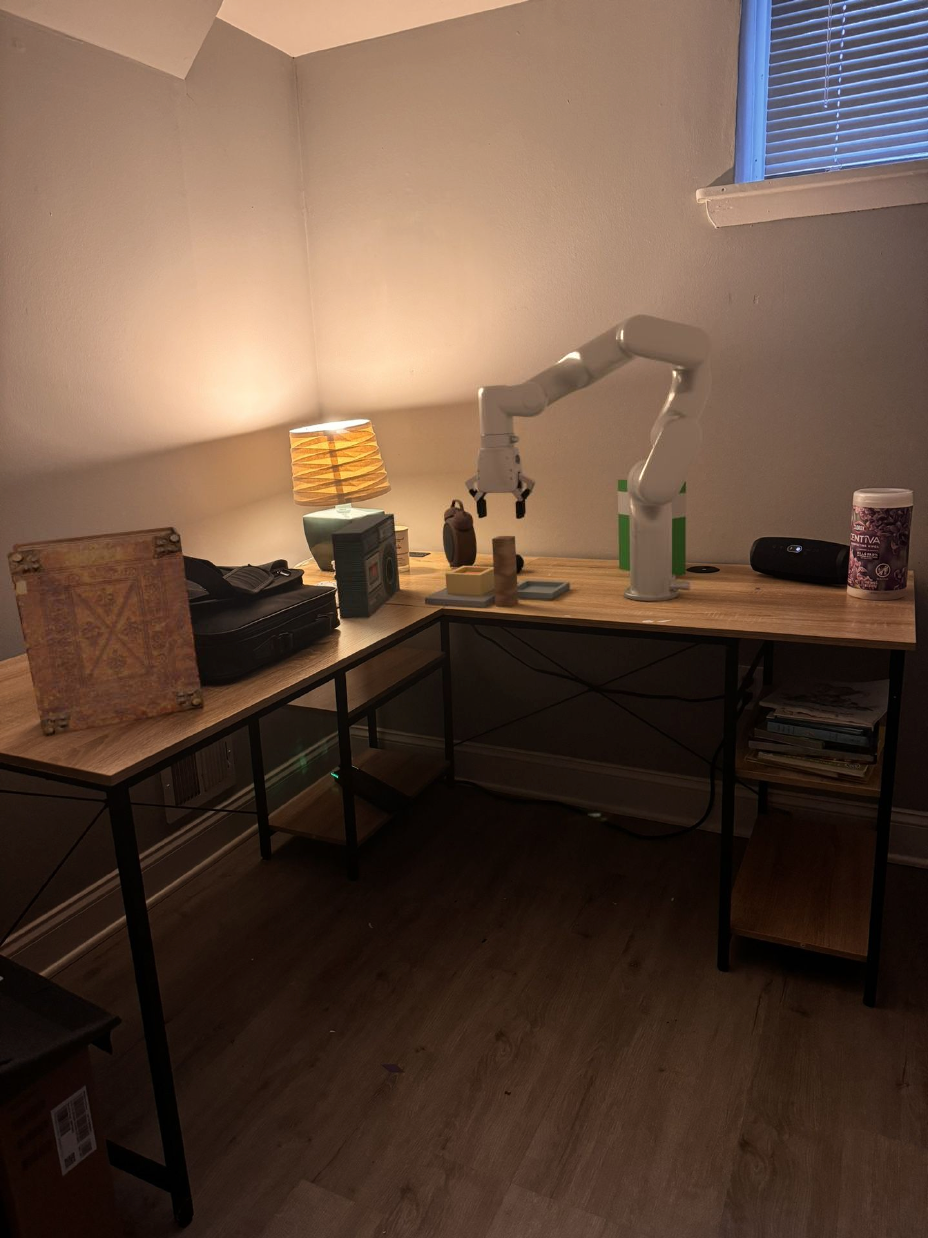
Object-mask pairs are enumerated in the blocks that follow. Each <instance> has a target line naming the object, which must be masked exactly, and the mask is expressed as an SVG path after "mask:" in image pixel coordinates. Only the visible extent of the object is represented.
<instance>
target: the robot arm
mask: <svg viewBox="0 0 928 1238" xmlns="http://www.w3.org/2000/svg"><path fill="white" fill-rule="evenodd" d="M713 345H714V343H713V340H712V337H711V335H710V334H709V333H708V332H707V330H705V329H704V328H701V327H699V326H696V325H691V324H686V323H682V322H677V321H673V320H670V319H669V320H668V319H664V318H660V317H655V316H652V315H648V314H635V315H633V316H630V317H627V318H626V319H624V320H622V321H621V322H619V323H618V324H616V325H614V326H613V327H611V328H609V329H607V330H605V331H604V332H602V333H600V334H599V335H597V336H596V337H594V338H592V339H591V340H589V341H588V342H585V343H584V344H582V345H581V346H579V347H577V348H575V349H574V350H572V351H570V353H568V354H566V356H564V357H563V358H562V359H560V360H559V361H557V362H556V363H554V364H552V365H550V366H549V367H547V368H546V369H544V370H542V371H540V372H539V373H537V374H536V375H533V376H532V377H530V378H529V379H527V380H526V381H524V382H522V383H519V384H514V385H506V384H501V385H500V384H496V385H487V386H486V385H485V386H482V387H480V388H479V390H478V393H477V394H478V396H477V397H478V398H477V400H478V413H479V430H480V431H479V433H480V449H478V455H477V460H476V475H473V476H472V477H471V478H468V480H466V481H465V482H464V485H465V486H466V489H467V490H468V493H469V495H470V496H472V498H473V500H474V501H475V504H476V514H477V518H478V519H483V518H486V517H487V516H488V509H487V508H488V507H487V500H486V495H488V494H511V493H512V494H513V496H514V498H515V499H516V501H515V504H514V505H515V518H516V519H517V520H520V519H523V518H525V515H526V512H527V509H526V500H527V499H528V497H530V495H531V494H532V492H533V489H534V487H535V485H536V480H534V479H533V478H531V477H529V476H528V475H526V474H524V471H523V463H522V458H521V453H520V450H519V447H517V446H516V447H515V445H516V443H519V442H520V436H516V435H515V434H516V433H515V432H514V431H515V430H514V429H515V428H514V427H515V426H514V417H519V418H520V417H522V418H535V417H538V416H539V415H541V414H542V413H543V412H544V411H545V410H546V408H547V407H550V406H551V405H552V404H554V403H556V402H557V401H559V400H560V399H563V398H565V397H566V396H568V395H570V394H572V393H574V392H577V391H579V390H583V389H586V388H588V387H590V386H592V385H595V384H596V383H598V382H599V381H601V380H603V379H605V378H606V377H608V376H610V375H611V374H613V373H615V372H616V371H618V370H620V369H622V368H623V367H625V366H627V365H628V364H629V363H632V362H633V361H635V360H637V359H639V358H644V359H646V360H647V359H648V360H650V361H651V360H652V361H655V362H659V363H663V364H667V366H669V368H670V371H671V375H672V379H671V380H672V381H671V386H670V389H669V392H668V394H667V397H666V400H665V402H664V403H663V406H662V408H661V410H660V411H659V414H658V416H657V419H656V420H655V422H654V423H653V426H652V429H651V431H650V434H649V435H650V437H649V438H650V439H649V440H650V445H651V446H652V449H651V451H650V452H649V456H648V457H647V458H645V459H642V460H640V461H638V462H636V463H635V464H634V465H633V466H632V468H631V469H630V471H629V473H628V477H627V480H628V481H627V490H628V500H629V514H630V571H629V572H630V573H629V575H630V578H629V579H630V584H629V585H630V586H629V587H626V588H625V589H624V590H623V596H624V598H627V599H629V600H633V601H634V600H635V601H640V602H641V601H643V602H656V601H657V602H659V601H666V600H667V601H668V600H671V599H675V598H677V596H679V591H690V590H691V581H688V580H678V579H676V576H675V575H672V510H671V501H673V500H674V499H675V498H676V496H677V495H678V494H679V492H680V490H681V488H682V486H683V484H684V482H685V481H686V480H687V478H688V477H689V474H690V472H691V469H692V467H693V465H694V463H695V461H696V458H697V456H698V454H699V452H700V451H701V448H702V447H701V446H702V441H703V432H702V431H703V430H702V428H701V425H700V423H699V421H700V419H701V416H702V414H703V411H704V409H705V406H706V405H707V402H708V399H709V397H710V395H711V394H710V393H711V389H712V383H713V382H712V369H711V365H710V361H709V360H710V358H711V357H712V353H713V349H714V346H713ZM475 483H476V486H477V489H476V487H475ZM525 484H526V487H525V489H524V485H525ZM523 489H524V490H523Z"/></svg>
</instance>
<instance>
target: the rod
mask: <svg viewBox="0 0 928 1238" xmlns="http://www.w3.org/2000/svg"><path fill="white" fill-rule="evenodd" d="M491 544H492V546H491V547H492V561H493V563H492V564H493V566H492V567H494V584H495V602H494V604H495V607H500V608H501V607H504V608H512V607H514V606H515V605H518V604H519V599H518V589H517V583H518V573H517V568H516V554H517V553H516V552H517V549H516V536H515V535H498V536H496V537H494V538H491Z"/></svg>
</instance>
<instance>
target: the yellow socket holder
mask: <svg viewBox="0 0 928 1238" xmlns="http://www.w3.org/2000/svg"><path fill="white" fill-rule="evenodd" d="M465 572H481V573H479V574H468V573H465ZM445 584H446V586H445V588H443V589H440V590H438V591H436V592H434V593H431V594H430V595H428V596H425V597H424V605H435V606H451V607H452V606H453V607H466V608H467V607H468V608H484V609H485V608H486V607H488V606H490V605H492V604H495V584H494V566H476V565H472V566H462V567H459V568H457V567H456V568H455V569H452V570H450V571H448V572H446V573H445ZM517 584H519V582H517Z"/></svg>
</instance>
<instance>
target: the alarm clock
mask: <svg viewBox="0 0 928 1238" xmlns="http://www.w3.org/2000/svg"><path fill="white" fill-rule="evenodd" d="M456 503H457V504H458V505H459V507H456ZM443 521H444V523H443V527H442V543H443V544H442V545H443V550H444V555H445V559H446V560H447V562H448V563H449V568H456V569H457V568H459V567H462V566H474V564H476V563H475V562H476V559H477V554H478V553H477V552H478V551H477V550H478V549H477V548H478V547H477V537H476V535H477V534H476V531H475V527H474V519H473V515H472V514H471V513H470V512H468V511H465V509H464V504H463V502H462V501H461V500H460V499H457V498H456V499H452V501H451V504H450V506H449V508H448V509H446V510H445V511H444V514H443Z"/></svg>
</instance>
